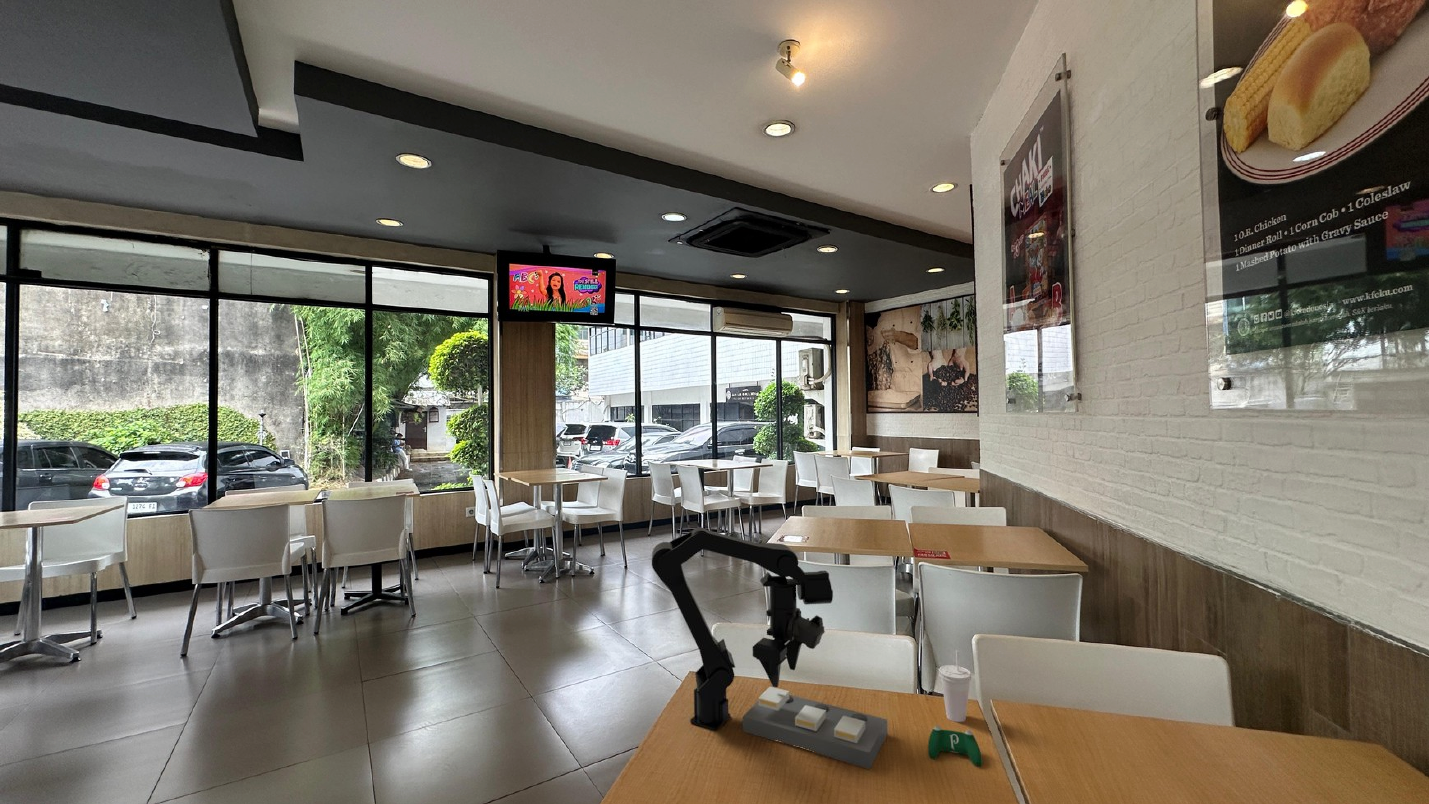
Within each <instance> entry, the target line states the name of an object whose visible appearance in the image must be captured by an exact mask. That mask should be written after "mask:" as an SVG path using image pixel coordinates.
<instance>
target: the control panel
mask: <svg viewBox="0 0 1429 804" xmlns="http://www.w3.org/2000/svg"><path fill="white" fill-rule="evenodd" d="M805 705H807V706H811V707H815V708H819V709H822V710H826V719H825V720H824V721H823V723H822V724H821V725H820V727H819V728H818V730H817V731H813V730H810V729H806V728H803V727H799V726H796V725H795V717H796V716H797V715H798V713H799V712H800V711H801V710H802V709H803V707H804V706H805ZM843 716H847V717H851V718H854V719H858V720H862V721H865V731H864V732H863V734H862V736H861V737H860V739H859V741H858V743H854V742H850V741H847V740H843V739H839V738H836V737H834V728H835V727H836V726H837V724H838V723H839V721H840V720H841V718H842V717H843ZM742 732H744V733H747V734H751V735H755V736H756V737H760V736H761V738H764V737H765V738H764V739H767V738H768V739H767V740H770V739H771V740H770V741H774V740H778V741H781V742H783V743H782V744H784V743H786V744H785V745H787V744H790V745H795V746H799V747H803V748H805V749H809V750H811V751H814V752H816V753H815V754H817V753H818V754H817V755H820V754H823V755H822V756H824V755H825V756H824V757H828V758H830V757H831V758H830V759H834V760H836V761H841V762H845V763H847V764H851V765H854V766H856V767H857V766H858V767H861V768H864V769H868V770H870V769H871V768H872V766H873V764H874V762H875V760H876V757H877V756H878V754H879V752H880V751H881V748H882V746H883V745H884V743H885V740H886V738H887V736H888V719H887V718H884V717H883V718H882V717H879V716H874V715H870V714H867V713H863V712H860V711H855V710H851V709H848V708H847V709H846V708H843V707H840V706H835V705H832V704H828V703H824V702H819V701H815V700H811V699H808V698H804V697H799V696H796V695H792V694H789V699H788V700H787V701H786V703H785V704H784V705H783V706H782V707H781V708H780V709H779V710H774V709H770V708H767V707H763V706H759V705H758V701H757V702H755V703H754V704H753V706H751V708H749V710H748V711H746V712H745V713H744V714H743V715H742ZM790 745H789V746H790ZM814 752H813V753H814Z"/></svg>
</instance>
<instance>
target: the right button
mask: <svg viewBox="0 0 1429 804" xmlns="http://www.w3.org/2000/svg"><path fill="white" fill-rule="evenodd" d="M864 731H865V721H862V720H858V719H854V718H851V717H847V716H843V717H842V718H841V720H840V721H839V723H838V724H837V726H836V727H835V728H834V737H836V738H839V739H843V740H847V741H850V742H854V743H858V741H859V739H860V737H861V736H862V734H863V732H864Z"/></svg>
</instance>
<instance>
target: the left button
mask: <svg viewBox="0 0 1429 804" xmlns="http://www.w3.org/2000/svg"><path fill="white" fill-rule="evenodd" d="M789 695H790V690H785V689H781V688H778V687H773V686H769V687H767V689H765V690H764V692H762V694H761V695H760V696H759V697H758V699H757V700H758V701H757V702H758V705H759V706H763V707H767V708H770V709H774V710H779V709H780V708H781V707H782V706H783V705H784V704H785V703H786V701H787V700H788V699H789Z"/></svg>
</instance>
